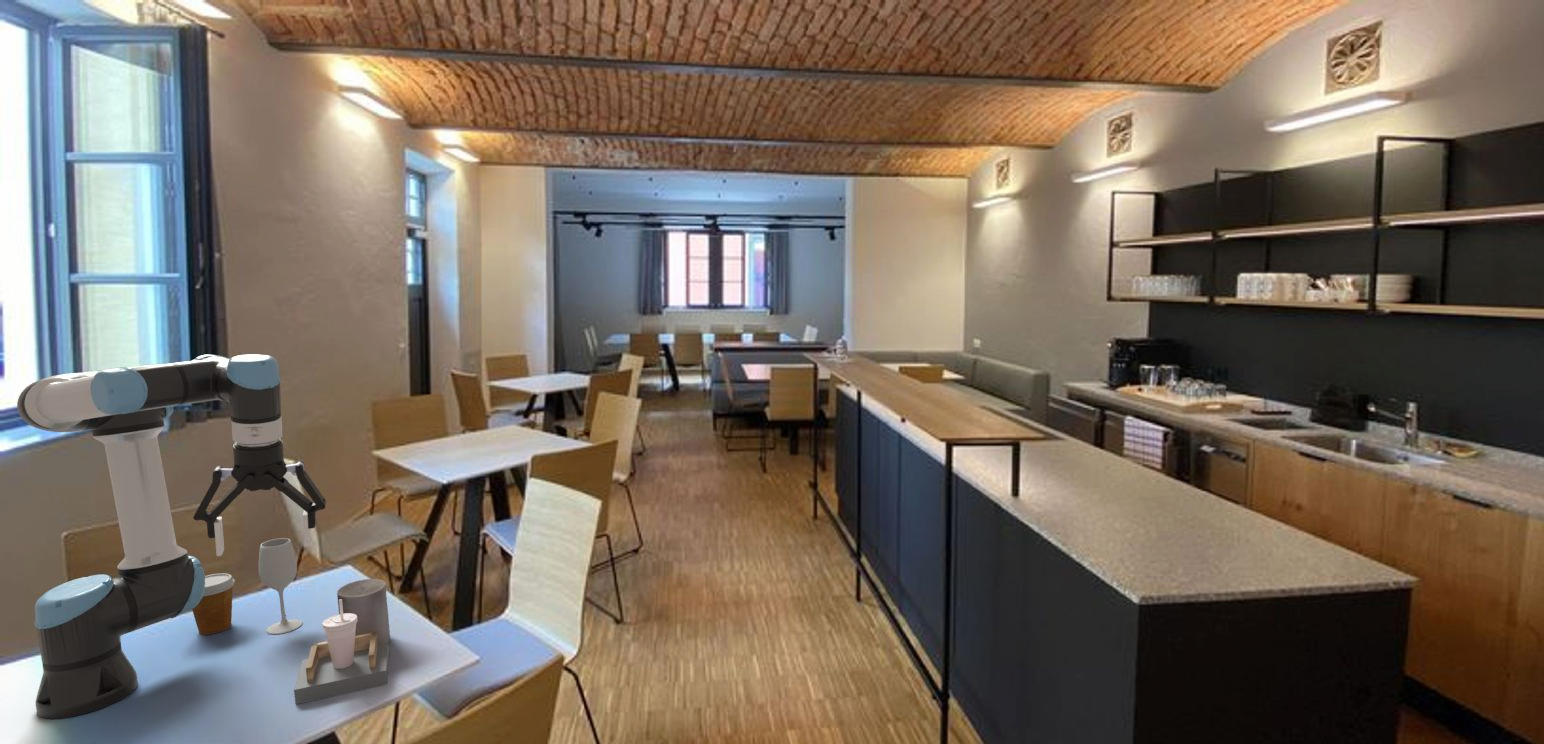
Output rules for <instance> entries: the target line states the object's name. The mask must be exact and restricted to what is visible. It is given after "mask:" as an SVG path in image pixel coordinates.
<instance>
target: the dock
mask: <svg viewBox="0 0 1544 744" xmlns="http://www.w3.org/2000/svg"><path fill="white" fill-rule="evenodd" d="M389 651H390V650H389V643H385V644H380V645H378V646H377V657H376V667H375V668H374V669H370V666H369V649H364V650H359V651H354V663H353V664H352V665H350V666H348V667H346V668H341V669H336V668H334V667H333V664H332V659H331V656H329V657H324V658H319V660H318V664H317V668H316V672H315V676H314V680H313V681H312V682H307V676H306V665H307V662H308V658H305V659H302V660H301V664H300V668H299V671H298V675H297V678H296V682H295V685H294V688H293V693H294V702H295V703H294V704H295V705H299V704H303V703H307V702H312V701H318V700H322V699H326V698H330V697H335V696H340V695H345V694H348V693H355V692H359V691H362V690H367V689H372V688H377V687H381V686H386V685H388V679H389V678H388V677H389V676H388V675H389V663H390V662H389V661H390V652H389Z"/></svg>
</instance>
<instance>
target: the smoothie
mask: <svg viewBox="0 0 1544 744" xmlns="http://www.w3.org/2000/svg"><path fill="white" fill-rule="evenodd" d="M339 607H340V614H339V613H338V614H334V615H332V616H329V617H327V618H326V619H324V620H322V622H321V623H322V624H321V628H322V630H324V634H325V639H326V641H327V643H328V647H329V651H330V655H331V659H332V664H333V667H334V668H336V669H341V668H346V667H348V666H350V665H352V664H353V663H354V648H355V632H356V623H357V622H358V619H357V615H355V614H352V613H344V614H343V605H342V599H340V600H339Z"/></svg>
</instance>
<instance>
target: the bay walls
mask: <svg viewBox="0 0 1544 744" xmlns="http://www.w3.org/2000/svg"><path fill="white" fill-rule="evenodd" d="M377 646H378V643H377V633H376V632H373V633H368V634H363V635H357V636H355V648H354V651H359V650H364V649H369V666H370V669H374V668H375V667H376V657H377ZM329 656H331V655H330V651H329V647H328V643H327V640H326V641H322V642H317V643H312V644H311V647H310V651H309V656H308V658H307V659H308V662H307V665H306V676H307V682H312V681H313V680H314V676H315V672H316V668H317V664H318V660H319V658H324V657H329Z"/></svg>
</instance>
